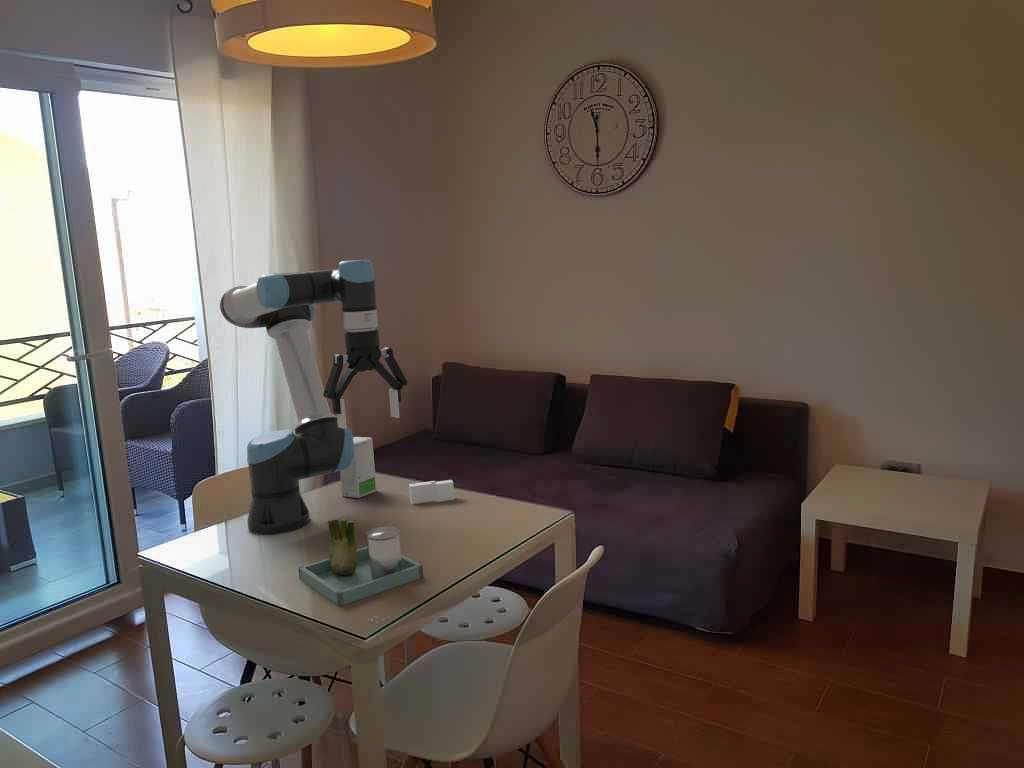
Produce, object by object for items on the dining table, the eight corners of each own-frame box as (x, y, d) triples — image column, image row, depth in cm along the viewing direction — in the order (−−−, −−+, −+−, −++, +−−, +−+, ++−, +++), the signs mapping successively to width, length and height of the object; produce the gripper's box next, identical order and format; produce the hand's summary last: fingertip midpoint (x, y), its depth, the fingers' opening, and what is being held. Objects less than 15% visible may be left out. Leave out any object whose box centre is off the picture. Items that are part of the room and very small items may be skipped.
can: (364, 579, 168) (360, 532, 167) (392, 570, 172) (388, 524, 171) (380, 588, 163) (376, 540, 161) (409, 579, 167) (405, 531, 165)
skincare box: (358, 499, 225) (353, 444, 223) (340, 496, 229) (335, 442, 226) (378, 490, 232) (373, 437, 230) (360, 487, 236) (355, 435, 233)
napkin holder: (399, 507, 218) (397, 486, 217) (419, 494, 228) (417, 474, 227) (450, 511, 212) (448, 490, 211) (468, 497, 223) (467, 477, 222)
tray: (300, 583, 170) (298, 567, 170) (380, 557, 182) (378, 542, 181) (339, 611, 157) (338, 593, 156) (423, 581, 168) (422, 565, 167)
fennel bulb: (362, 573, 171) (357, 518, 169) (342, 581, 168) (336, 525, 166) (346, 566, 175) (341, 513, 173) (326, 574, 172) (321, 519, 170)
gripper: (317, 337, 173) (326, 434, 177) (417, 324, 188) (424, 414, 192) (302, 335, 179) (311, 429, 182) (400, 323, 194) (407, 410, 197)
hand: (369, 422), depth 187 cm, fingers open, 13 cm apart
